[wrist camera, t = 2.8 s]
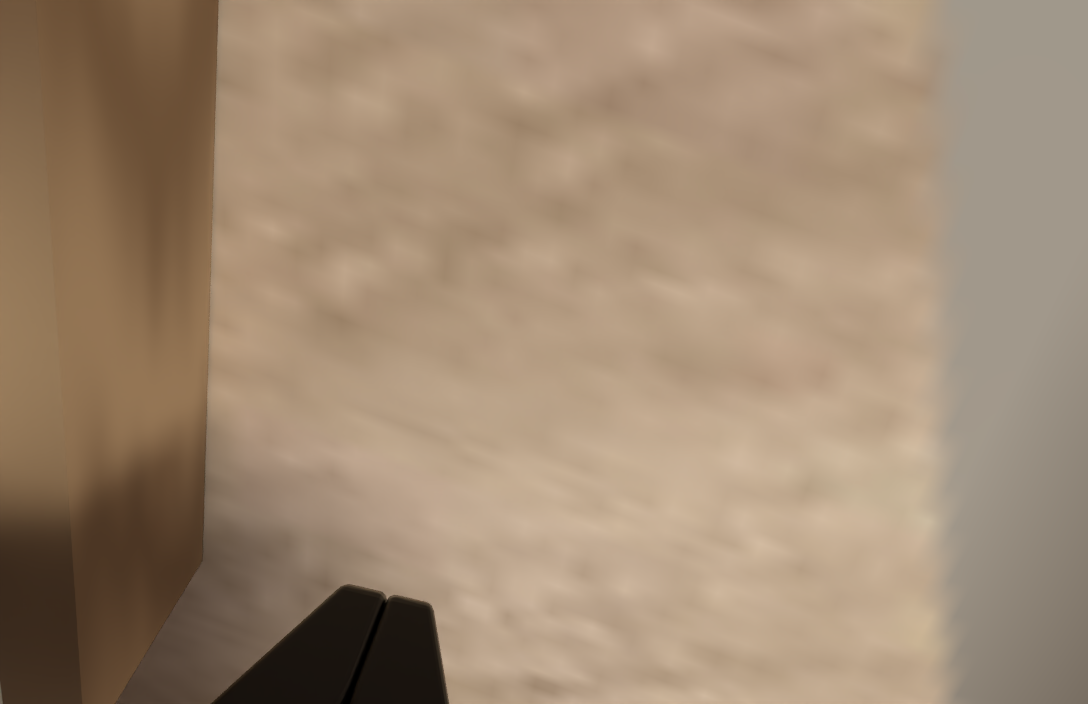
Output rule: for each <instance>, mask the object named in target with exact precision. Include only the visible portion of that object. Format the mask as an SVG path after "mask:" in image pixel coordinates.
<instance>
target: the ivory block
mask: <svg viewBox="0 0 1088 704" xmlns="http://www.w3.org/2000/svg"><path fill="white" fill-rule="evenodd" d="M0 704H3V701H2V693H1V686H0Z"/></svg>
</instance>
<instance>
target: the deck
mask: <svg viewBox="0 0 1088 704" xmlns="http://www.w3.org/2000/svg"><path fill="white" fill-rule="evenodd" d="M217 34H218V0H0V686H1V693H2V701H3V704H115V703H116V701H117V700H118V698H119V696H120V695H121V693H122V691H123V690H124V688H125V687H126V685H127V683H128V682H129V680H130V678H131V677H132V675H133V673H134V672H135V670H136V669H137V667H138V665H139V664H140V662H141V660H142V659H143V657H144V655H145V654H146V652H147V650H148V649H149V647H150V646H151V644H152V642H153V641H154V639H155V637H156V636H157V634H158V632H159V631H160V629H161V628H162V626H163V624H164V623H165V621H166V619H167V618H168V616H169V614H170V613H171V611H172V609H173V608H174V606H175V605H176V603H177V601H178V600H179V598H180V596H181V595H182V593H183V591H184V590H185V588H186V587H187V585H188V583H189V582H190V580H191V578H192V577H193V575H194V573H195V572H196V570H197V568H198V567H199V565H200V564H201V562H202V555H203V520H204V485H205V451H206V416H207V381H208V346H209V312H210V277H211V242H212V208H213V173H214V138H215V104H216V69H217Z"/></svg>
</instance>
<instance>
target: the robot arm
mask: <svg viewBox="0 0 1088 704" xmlns="http://www.w3.org/2000/svg"><path fill="white" fill-rule="evenodd" d="M211 704H449V700H448V694H447V688H446V682H445V676H444V670H443V664H442V658H441V652H440V646H439V640H438V633H437V627H436V621H435V615H434V610H433V608H432V606H431V605H430V604H429V603H427V602H424V601H420V600H415V599H411V598H407V597H403V596H398V595H393V596H390V597H389V598H388V600H387V598H386V596H385V594H384V593H383V592H381V591H377V590H372V589H368V588H364V587H360V586H355V585H351V584H347V585H343V586H341V587H340V588H339V589H337V590H336V591H335V592H334V593H333V594H332V595H331V596H329V597H328V598H327V599H326V600H325V601H324V602H323V603H322V604H321V605H320V606H318V607H317V608H316V609H315V610H314V611H313V612H312V613H311V614H310V615H308V616H307V617H306V618H305V619H304V620H303V621H302V622H301V623H300V624H298V625H297V626H296V627H295V628H294V629H293V630H292V631H291V632H290V633H289V634H287V635H286V636H285V637H284V638H283V639H282V640H281V641H280V642H279V643H277V644H276V645H275V646H274V647H273V648H272V649H271V650H270V651H269V652H267V653H266V654H265V655H264V656H263V657H262V658H261V659H260V660H259V661H258V662H256V663H255V664H254V665H253V666H252V667H251V668H250V669H249V670H248V671H246V672H245V673H244V674H243V675H242V676H241V677H240V678H239V679H238V680H236V681H235V682H234V683H233V684H232V685H231V686H230V687H229V688H228V689H227V690H225V691H224V692H223V693H222V694H221V695H220V696H219V697H218V698H217V699H215V700H214V701H213V702H212V703H211Z"/></svg>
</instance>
